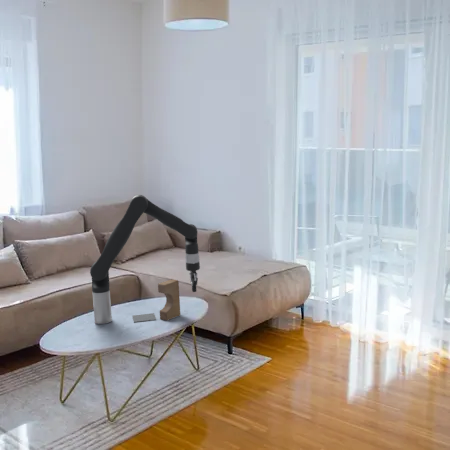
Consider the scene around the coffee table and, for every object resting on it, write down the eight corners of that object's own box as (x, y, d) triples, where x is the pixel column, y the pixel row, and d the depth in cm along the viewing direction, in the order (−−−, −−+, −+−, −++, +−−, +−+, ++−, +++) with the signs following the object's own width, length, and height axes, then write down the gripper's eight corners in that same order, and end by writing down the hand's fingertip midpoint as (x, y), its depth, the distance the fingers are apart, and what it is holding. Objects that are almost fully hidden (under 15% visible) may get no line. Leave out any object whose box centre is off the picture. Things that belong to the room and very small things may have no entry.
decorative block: (166, 321, 320) (164, 285, 317) (159, 319, 324) (157, 283, 321) (181, 315, 329) (179, 280, 325) (174, 313, 332) (171, 278, 329)
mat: (134, 322, 320) (134, 321, 320) (132, 316, 331) (132, 315, 331) (156, 320, 323) (156, 319, 323) (154, 313, 333) (153, 313, 333)
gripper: (183, 259, 330) (185, 289, 333) (187, 264, 317) (189, 295, 320) (197, 257, 331) (198, 287, 334) (201, 263, 319) (203, 294, 322)
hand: (194, 291), depth 327 cm, fingers closed
